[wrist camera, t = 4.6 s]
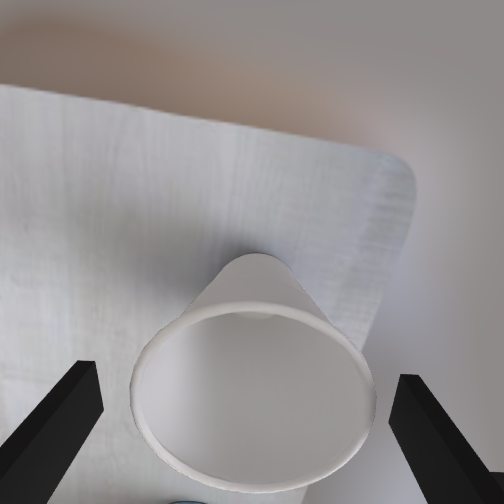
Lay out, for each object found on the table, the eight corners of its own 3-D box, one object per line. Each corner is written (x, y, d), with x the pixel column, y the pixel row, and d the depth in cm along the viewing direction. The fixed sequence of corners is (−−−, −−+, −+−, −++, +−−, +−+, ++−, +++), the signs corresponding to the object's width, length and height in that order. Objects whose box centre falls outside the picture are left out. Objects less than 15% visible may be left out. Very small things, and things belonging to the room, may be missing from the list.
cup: (259, 197, 19) (255, 245, 9) (348, 292, 21) (429, 420, 11) (166, 286, 22) (78, 404, 11) (254, 363, 24) (248, 523, 13)
